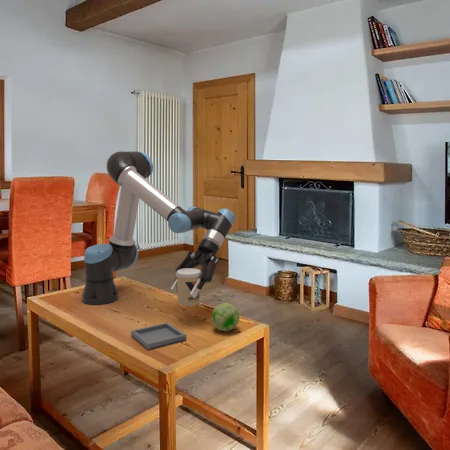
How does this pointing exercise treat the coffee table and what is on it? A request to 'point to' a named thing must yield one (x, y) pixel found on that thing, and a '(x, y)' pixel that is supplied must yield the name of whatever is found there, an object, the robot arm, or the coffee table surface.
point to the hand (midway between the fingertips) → (182, 293)
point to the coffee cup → (187, 285)
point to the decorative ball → (225, 317)
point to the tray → (158, 336)
